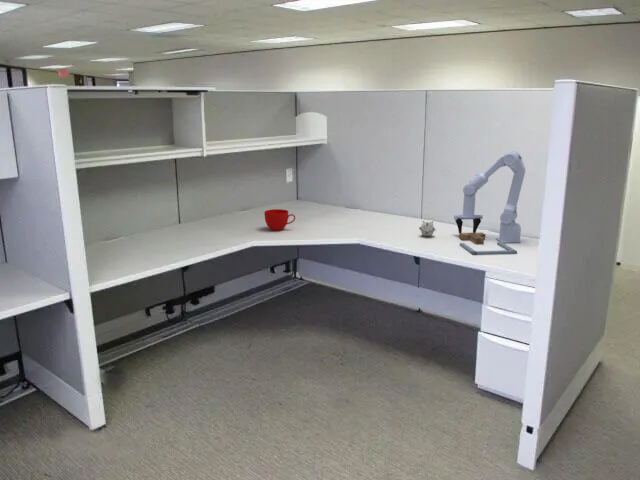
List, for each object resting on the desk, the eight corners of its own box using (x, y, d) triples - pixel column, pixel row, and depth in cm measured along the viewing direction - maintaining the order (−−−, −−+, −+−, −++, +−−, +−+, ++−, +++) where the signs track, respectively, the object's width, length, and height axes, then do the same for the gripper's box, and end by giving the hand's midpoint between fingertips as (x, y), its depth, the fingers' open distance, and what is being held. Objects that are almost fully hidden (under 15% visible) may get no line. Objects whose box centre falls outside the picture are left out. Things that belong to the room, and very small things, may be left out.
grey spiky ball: (429, 242, 283) (440, 227, 283) (428, 240, 275) (440, 224, 274) (415, 233, 286) (426, 217, 285) (413, 230, 277) (425, 214, 277)
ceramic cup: (292, 233, 288) (292, 214, 285) (261, 231, 291) (261, 213, 288) (298, 227, 300) (298, 210, 297) (268, 226, 303) (268, 208, 301)
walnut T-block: (481, 238, 278) (482, 232, 277) (491, 244, 266) (491, 238, 266) (459, 238, 277) (459, 233, 276) (467, 244, 265) (468, 238, 264)
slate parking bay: (501, 244, 266) (501, 241, 266) (516, 253, 249) (517, 251, 249) (459, 245, 264) (459, 243, 263) (472, 255, 247) (472, 252, 247)
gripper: (479, 205, 283) (477, 230, 286) (452, 206, 281) (450, 231, 285) (484, 208, 276) (482, 234, 280) (457, 208, 275) (455, 234, 278)
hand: (467, 232), depth 282 cm, fingers open, 7 cm apart
